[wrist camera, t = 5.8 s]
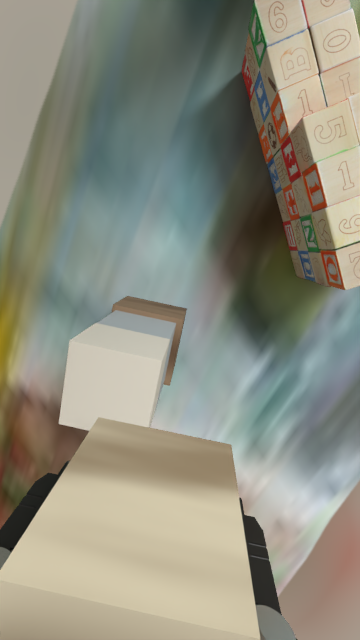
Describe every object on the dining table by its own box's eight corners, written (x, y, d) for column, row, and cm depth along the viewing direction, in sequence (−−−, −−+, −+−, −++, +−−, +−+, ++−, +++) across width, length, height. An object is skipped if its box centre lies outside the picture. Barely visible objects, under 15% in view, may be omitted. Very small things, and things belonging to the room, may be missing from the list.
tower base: (127, 296, 36) (113, 304, 31) (186, 308, 36) (183, 319, 30) (118, 352, 38) (102, 370, 32) (174, 364, 38) (169, 385, 32)
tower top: (95, 322, 25) (69, 340, 20) (170, 339, 25) (162, 360, 20) (85, 391, 26) (58, 423, 21) (155, 407, 26) (145, 443, 21)
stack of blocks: (238, 71, 31) (260, -43, 19) (302, 43, 30) (367, -94, 18) (296, 278, 35) (345, 292, 23) (354, 259, 34) (437, 263, 22)
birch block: (98, 417, 12) (-6, 578, 6) (231, 444, 12) (260, 638, 6) (82, 527, 13) (-20, 758, 7) (203, 554, 13) (205, 813, 7)
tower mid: (115, 310, 31) (95, 323, 25) (176, 322, 31) (169, 340, 25) (106, 366, 32) (85, 392, 26) (164, 379, 32) (155, 408, 26)
